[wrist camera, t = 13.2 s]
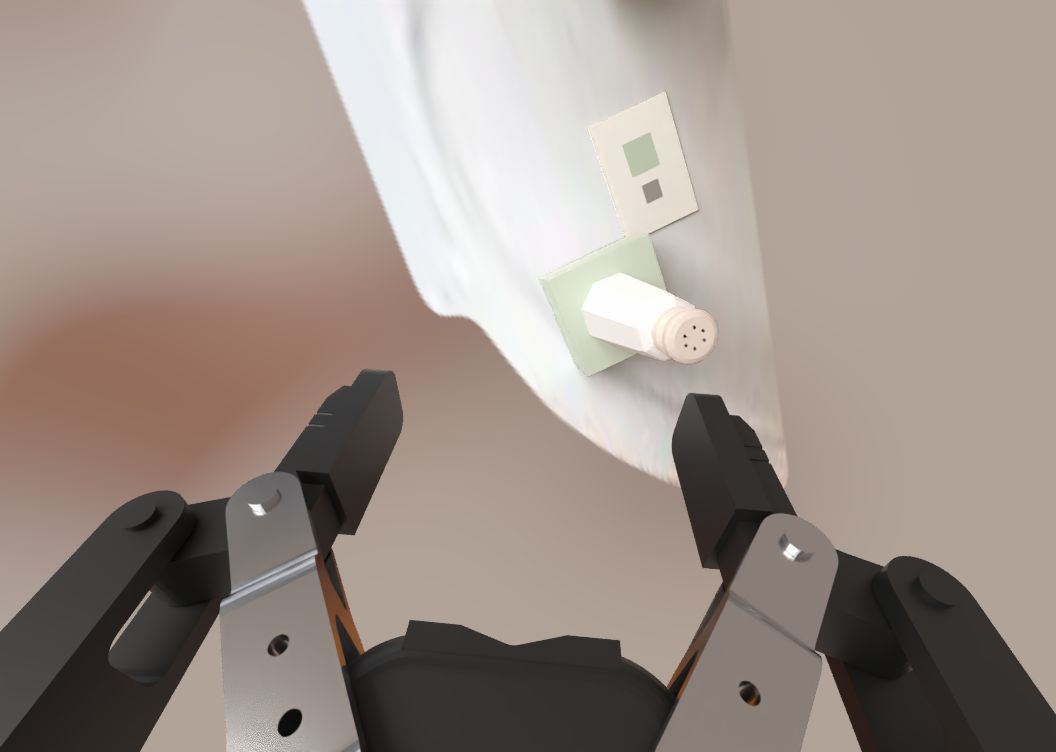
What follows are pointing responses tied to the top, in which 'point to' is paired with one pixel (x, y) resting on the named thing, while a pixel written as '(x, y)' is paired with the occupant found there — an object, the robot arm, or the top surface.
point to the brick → (575, 283)
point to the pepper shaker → (648, 320)
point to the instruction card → (644, 166)
